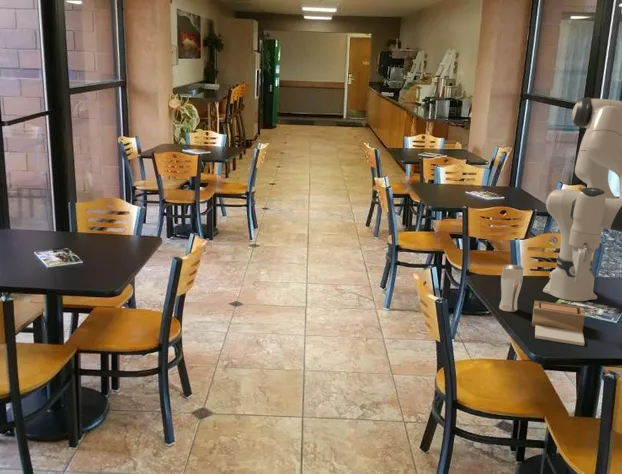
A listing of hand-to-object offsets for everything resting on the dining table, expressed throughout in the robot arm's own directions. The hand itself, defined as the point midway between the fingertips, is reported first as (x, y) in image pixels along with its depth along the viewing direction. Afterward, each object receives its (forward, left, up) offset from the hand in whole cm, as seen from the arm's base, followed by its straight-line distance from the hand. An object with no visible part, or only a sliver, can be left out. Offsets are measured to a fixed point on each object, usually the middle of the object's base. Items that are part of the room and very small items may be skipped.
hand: (577, 282), depth 206 cm
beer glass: (-10, -20, -16) cm, 27 cm away
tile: (0, -4, -11) cm, 12 cm away
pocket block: (0, -4, -15) cm, 16 cm away
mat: (+10, -4, -15) cm, 18 cm away
